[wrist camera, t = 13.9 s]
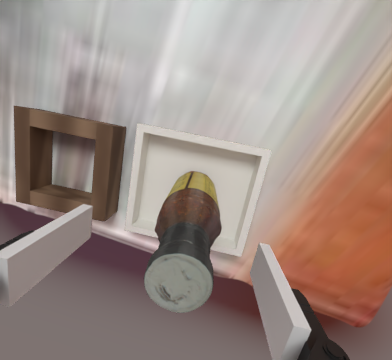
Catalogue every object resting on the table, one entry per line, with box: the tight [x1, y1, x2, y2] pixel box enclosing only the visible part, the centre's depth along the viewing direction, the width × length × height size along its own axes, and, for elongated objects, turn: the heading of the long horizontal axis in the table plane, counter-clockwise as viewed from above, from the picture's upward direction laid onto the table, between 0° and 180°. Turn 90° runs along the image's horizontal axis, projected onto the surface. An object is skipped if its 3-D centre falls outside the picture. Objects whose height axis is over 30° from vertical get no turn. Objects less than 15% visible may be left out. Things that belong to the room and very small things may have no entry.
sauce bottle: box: [144, 171, 222, 313], centre depth 21 cm, size 7×6×20 cm
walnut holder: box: [14, 106, 126, 221], centre depth 30 cm, size 14×14×4 cm
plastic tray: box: [125, 123, 272, 257], centre depth 30 cm, size 18×16×4 cm
